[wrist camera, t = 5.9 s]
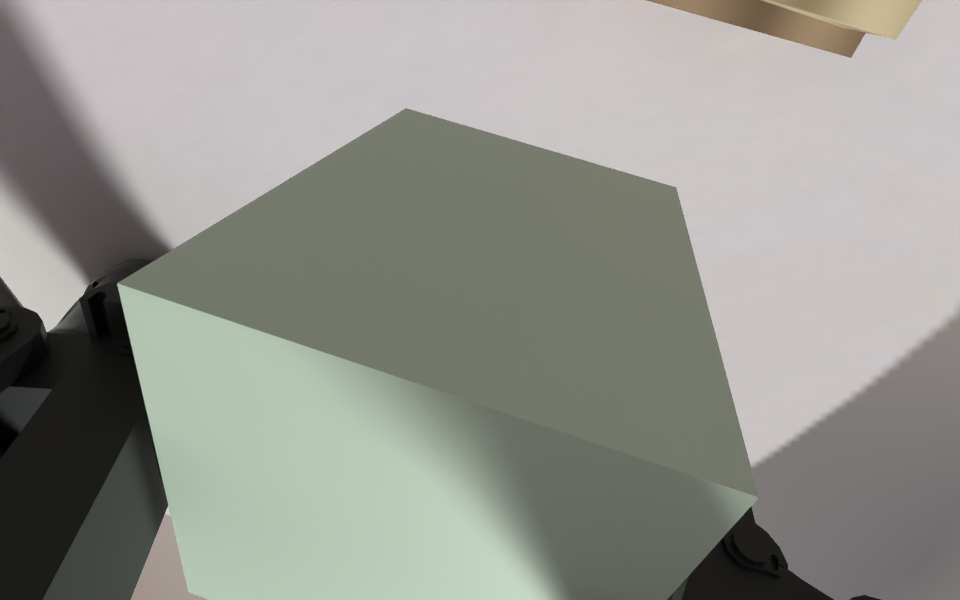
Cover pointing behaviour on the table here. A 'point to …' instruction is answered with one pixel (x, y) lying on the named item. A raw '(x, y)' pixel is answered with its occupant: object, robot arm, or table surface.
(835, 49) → the walnut slab
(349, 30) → the table surface
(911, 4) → the oak slab
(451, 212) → the sage block
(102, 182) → the table surface
